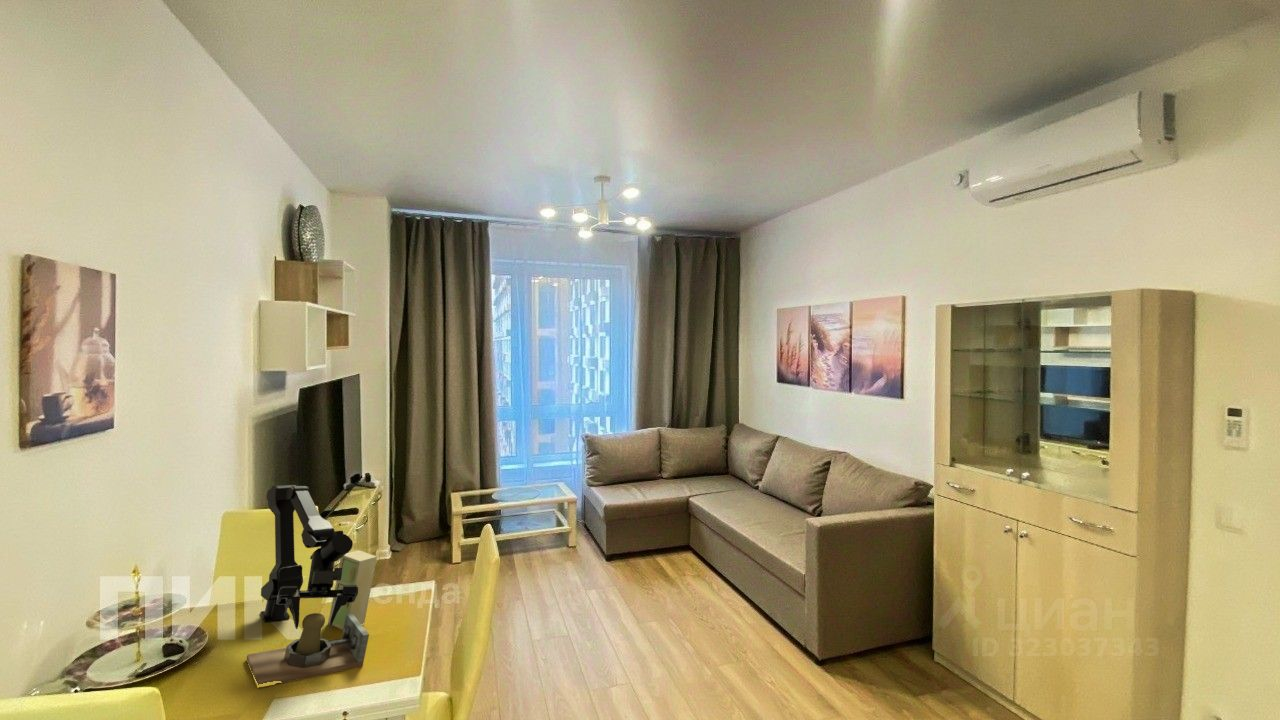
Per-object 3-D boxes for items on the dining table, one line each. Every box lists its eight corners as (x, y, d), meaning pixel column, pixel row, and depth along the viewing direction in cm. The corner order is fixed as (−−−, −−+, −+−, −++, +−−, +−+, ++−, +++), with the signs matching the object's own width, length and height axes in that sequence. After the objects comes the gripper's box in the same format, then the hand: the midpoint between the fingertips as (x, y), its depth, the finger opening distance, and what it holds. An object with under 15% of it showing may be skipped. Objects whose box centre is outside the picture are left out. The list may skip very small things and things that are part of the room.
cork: (306, 666, 142) (316, 622, 143) (287, 659, 144) (296, 616, 144) (324, 655, 148) (333, 614, 149) (305, 649, 150) (314, 608, 150)
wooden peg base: (245, 660, 143) (253, 627, 143) (345, 642, 159) (352, 612, 160) (257, 688, 133) (265, 652, 133) (362, 666, 149) (369, 634, 150)
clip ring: (281, 652, 146) (285, 633, 146) (346, 641, 157) (349, 623, 158) (290, 670, 139) (294, 650, 140) (357, 657, 150) (361, 638, 151)
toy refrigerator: (324, 624, 167) (339, 554, 169) (345, 616, 174) (359, 549, 175) (343, 633, 164) (358, 561, 166) (364, 625, 171) (378, 556, 172)
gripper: (286, 555, 146) (275, 616, 136) (364, 556, 156) (359, 613, 145) (281, 574, 152) (270, 634, 142) (356, 573, 162) (351, 629, 152)
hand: (313, 627), depth 145 cm, fingers open, 7 cm apart
